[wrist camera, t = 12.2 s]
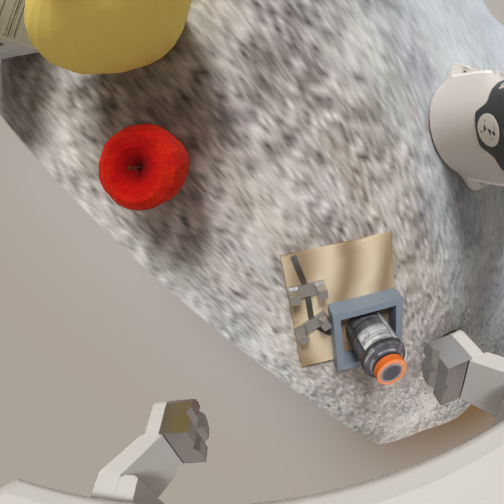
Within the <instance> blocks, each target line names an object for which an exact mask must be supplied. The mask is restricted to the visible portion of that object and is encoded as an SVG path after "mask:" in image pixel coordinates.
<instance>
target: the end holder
mask: <svg viewBox="0 0 504 504" xmlns="http://www.w3.org/2000/svg"><path fill="white" fill-rule="evenodd" d="M385 308H388V324H389V325H390V326H391V328H392V329H393V331H394V332H395V333H396V335H397V336H398V338H399V339H400V341H401V340H402V313H403V297H402V296H401V295H400V294H399V293H398V291H397V290H396V289H395V288H391V289H387V290H383V291H379V292H376V293H372V294H368V295H364V296H360V297H356V298H352V299H348V300H344V301H340V302H336V303H331V304H328V312H329V318H330V322H331V325H332V327H331V328H330V329H331V338H332V348H333V358H334V362H335V364H336V367H337V370H338V372H339V371H343V370H346V369H350V368H354V367H358V366H361V363H360V361H359V359H358V357H357V355H356V353H355V351H354V349H352V350H348V351H345V352H343V340H342V328H341V320H344V319H348V318H352V317H355V316H359V315H363V314H367V313H371V312H374V311H378V310H382V309H385Z"/></svg>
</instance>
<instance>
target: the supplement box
mask: <svg viewBox="0 0 504 504" xmlns="http://www.w3.org/2000/svg"><path fill="white" fill-rule="evenodd" d="M24 10H25V0H0V60H2V59H6V58H11V57H16V56H22V55H27V54H33V53H39V52H38V51H37V50H36V49H35V48H34V47H33V45H32V44H31V42H30V39H29V37H28V33H27V30H26V27H25V24H24Z"/></svg>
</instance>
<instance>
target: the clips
mask: <svg viewBox="0 0 504 504" xmlns="http://www.w3.org/2000/svg"><path fill="white" fill-rule="evenodd" d="M288 292H289V297H290V300H291V303H292V306H296V305H301V304H302V303H301V298H304V297H308V296H313V295H318V298H319V300H323V299H327V298H329V296H328V289H327V288H326V286H325V284H324V279H322V280H318V281H313V282H309V283H306V284H302V285H301V284H300V285H295V286H291V287H288ZM320 326H321V327H322V329H323V330H324V331H327V330H328V329H330V328H331V327H332V325H331V322H330V318H329V317H328V315H327V314H326V313H325V312H324V310H322V311H320V312H319V313H317V314H316V315H314V317H312V318H311V319H308V320H307V321H305V322H304V323H302V324H301V325H299V326H298V327H296V328H295V331H296V333H297V337H298V340H299V341H300V343H301V344H302V345H305V344H306V343H308V342H309V341H310V337H309V333H311V332H312V331H314V330H315V329H317V328H318V327H320Z"/></svg>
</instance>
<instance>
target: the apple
mask: <svg viewBox="0 0 504 504" xmlns="http://www.w3.org/2000/svg"><path fill="white" fill-rule="evenodd" d="M189 163H190V161H189V156H188V152H187V151H186V149H185V147H184V145H183V144H182V143H181V142H180V141H179V140H178V139H177V138H175V137H174V136H173V135H172V134H171V133H170V132H169V131H167V130H165V129H164V128H162V127H160V126H158V125H152V124H140V125H132V126H128V127H125V128H124V129H122V130H121V131H119V132H118V133H116V134H115V135H113V136H112V137H111V138H110V139H109V140H108V141H107V143H106V144H105V146H104V148H103V152H102V155H101V158H100V161H99V180H100V182H101V184H102V186H103V188H104V190H105V191H106V192H107V193H108V194H109V195H110V196H111V198H112V199H113V200H114V201H115V202H116V203H117V204H118V205H121V206H123V207H125V208H127V209H131V210H136V211H138V210H146V209H150V208H154V207H156V206H158V205H160V204H162V203H164V202H166V201H168V200H170V199H172V198H173V197H174V196H175V195H176V194H177V193H178V192H179V190H180V189H181V187H182V186H183V184H184V182H185V180H186V177H187V174H188V171H189Z"/></svg>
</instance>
